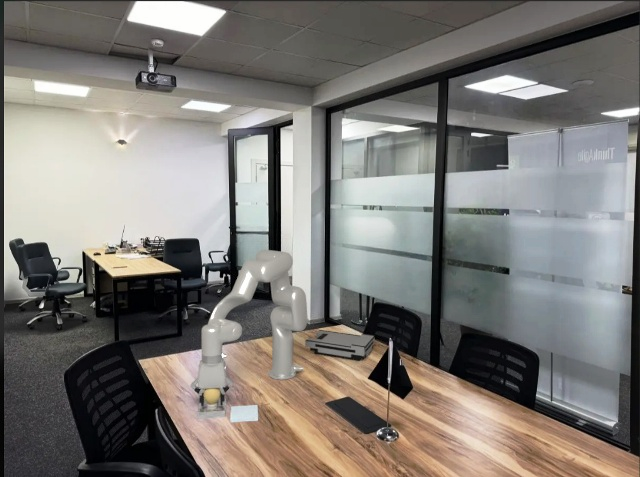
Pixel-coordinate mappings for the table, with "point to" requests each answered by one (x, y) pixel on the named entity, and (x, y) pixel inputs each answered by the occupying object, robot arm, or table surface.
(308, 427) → the table surface
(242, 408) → the pad
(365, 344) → the game console
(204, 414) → the frame
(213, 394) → the light bulb
